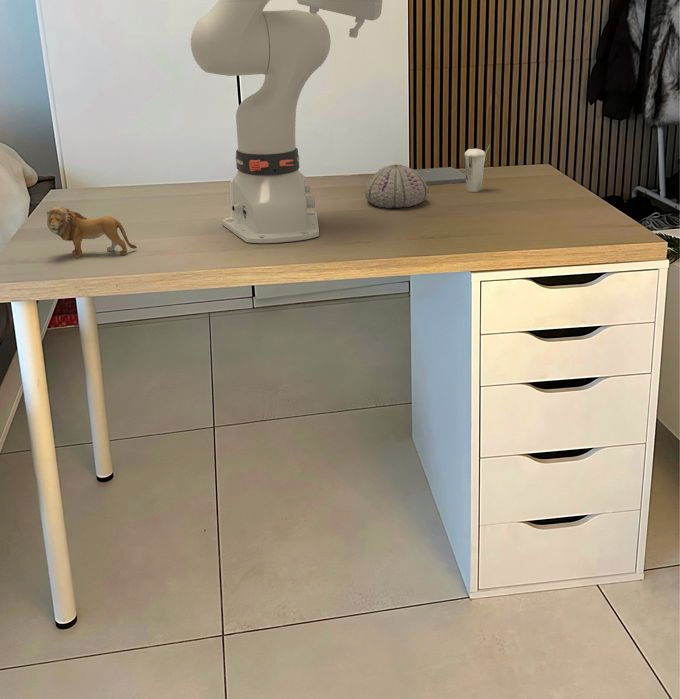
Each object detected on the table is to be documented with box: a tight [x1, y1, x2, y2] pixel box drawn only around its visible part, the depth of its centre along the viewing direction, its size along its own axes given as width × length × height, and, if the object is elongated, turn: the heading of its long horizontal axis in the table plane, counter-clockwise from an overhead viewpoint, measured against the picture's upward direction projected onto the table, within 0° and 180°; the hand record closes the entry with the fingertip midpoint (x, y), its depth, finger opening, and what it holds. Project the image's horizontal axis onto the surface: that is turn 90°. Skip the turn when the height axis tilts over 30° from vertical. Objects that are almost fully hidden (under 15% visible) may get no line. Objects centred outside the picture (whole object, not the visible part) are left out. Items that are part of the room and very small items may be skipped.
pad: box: [413, 166, 466, 186], centre depth 213 cm, size 13×13×1 cm
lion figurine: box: [46, 206, 138, 259], centre depth 160 cm, size 15×5×9 cm, turn 105°
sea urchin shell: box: [364, 163, 429, 209], centre depth 191 cm, size 13×14×8 cm
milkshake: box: [464, 144, 491, 193], centre depth 199 cm, size 4×5×10 cm
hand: (334, 32), depth 209 cm, fingers open, 8 cm apart
